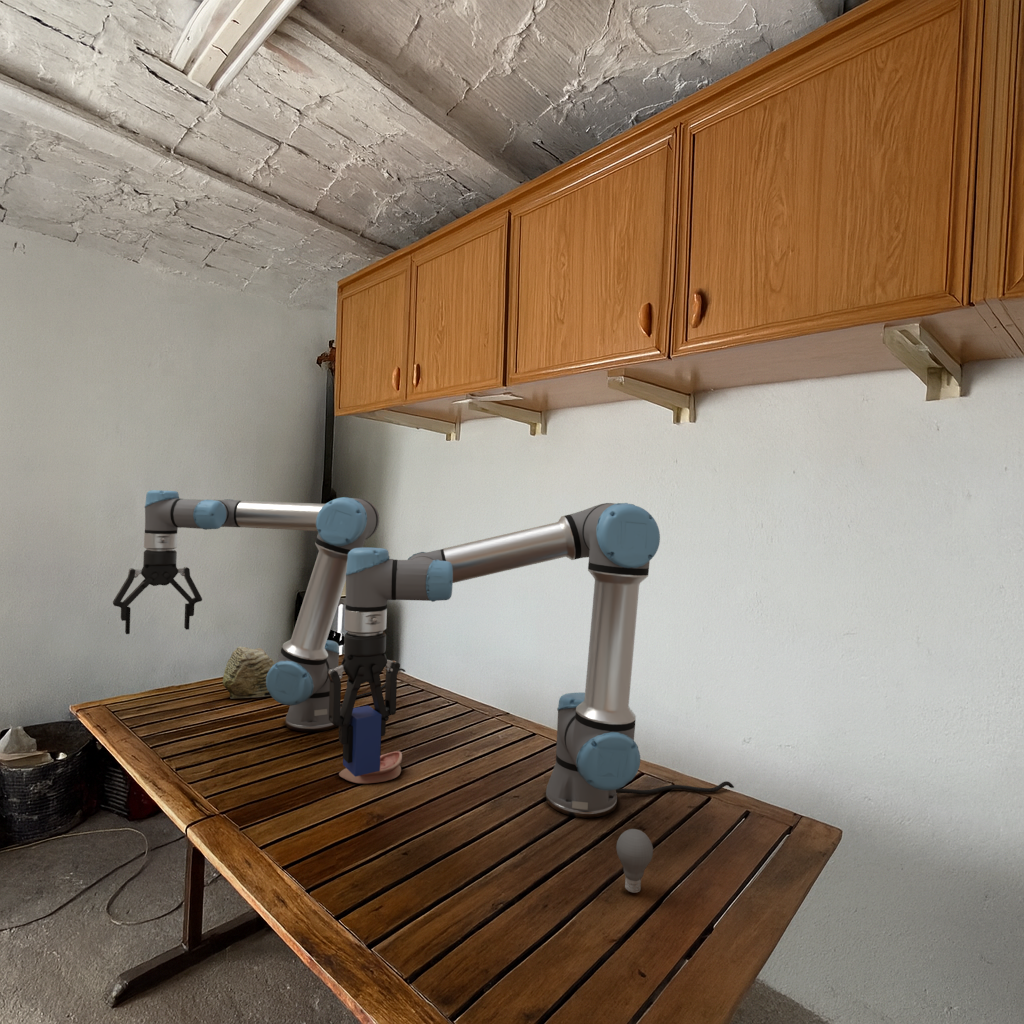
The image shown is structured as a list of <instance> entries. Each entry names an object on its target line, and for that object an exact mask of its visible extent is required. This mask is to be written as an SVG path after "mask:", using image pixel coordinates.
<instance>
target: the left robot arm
mask: <svg viewBox="0 0 1024 1024" xmlns="http://www.w3.org/2000/svg"><path fill="white" fill-rule="evenodd" d="M379 526H380V513H379V511H378V509H377V508H376V506H375V505H374V504H373V503H372V502H371V501H369V500H367V499H365V498H359V497H347V496H343V497H337V498H334V499H332V500H330V501H328V502H326V503H312V502H289V501H285V502H284V501H264V500H263V501H262V500H261V501H260V500H238V499H237V500H236V499H196V498H195V499H194V498H189V499H188V498H180V493H179V492H178V491H177V490H158V489H150V490H148V491H147V492H146V496H145V505H144V533H143V534H144V535H143V536H144V537H143V548H144V549H145V550H144V551H143V563H142V564H143V565H142V567H141V569H137V568H133V567H131V568H129V569H128V573H127V577H126V579H125V581H124V582H123V584H122V585H121V588H120V589H119V591H118V592H117V594H116V596H115V597H114V599H113V600H112V605H113V607H118V608H120V620H121V621H122V622H123V621H124V622H125V626H124V633H125V635H130V634H131V607H130V605H131V604H132V602H133V601H135V600H136V598H138V596H139V595H141V594H142V593H143V592H144V591H145V589H146V588H148V587H149V586H153V587H158V586H167V585H168V586H169V584H170V585H171V586H172V587H173V588H174V589H175V590H176V591H177V592H178V593H179V594H180V595H181V596H182V597H183V598H184V599H185V600H186V601H187V602H188V603H184V629H185V630H190V622H191V621H190V619H191V617H194V615H195V605H196V604H197V603H200V602H202V601H203V597H202V596H201V594H200V592H199V589H198V588H197V586H196V584H195V583H194V579H192V577H191V570H190V568H189V567H188V566H184V567H180V568H178V566H177V557H178V555H177V553H178V552H177V550H175V549H177V548H178V529H181V528H185V529H197V530H199V529H200V530H206V531H207V530H218V529H220V528H248V529H250V528H251V529H268V530H286V531H287V530H288V531H308V532H317V536H316V539H315V542H314V544H315V546H316V548H317V550H318V553H317V556H316V560H315V562H314V566H313V569H312V572H311V575H310V578H309V581H308V584H307V587H306V591H305V594H304V597H303V600H302V604H301V606H300V610H299V613H298V616H297V620H296V621H295V626H294V628H293V632H292V634H291V638H290V639H289V640H287V641H285V642H283V644H282V646H281V649H280V652H279V655H278V659H277V662H275V664H274V665H273V666H272V668H271V669H270V670H269V672H268V674H267V677H266V686H267V690H268V691H269V693H270V694H271V696H270V697H271V698H272V699H273V700H274V701H275V702H277V703H279V704H281V705H284V706H289V708H288V711H287V713H286V715H285V726H286V728H287V729H289V730H291V731H294V732H295V731H296V732H301V733H316V732H325V731H329V730H332V729H335V728H337V727H339V725H337V726H335V725H334V724H332V723H331V722H330V721H329V693H330V680H329V677H328V674H327V670H328V669H329V668H332V669H334V668H336V667H338V666H339V662H340V661H339V660H340V659H339V657H340V645H339V643H338V642H337V641H335V640H330V639H328V638H329V634H330V632H331V628H332V625H333V622H334V619H335V616H336V613H337V609H338V606H339V604H340V600H341V597H342V594H343V592H344V591H343V590H344V588H345V586H346V571H347V558H348V553H349V552H350V551H351V550H352V549H354V548H364V545H365V543H366V542H365V541H366V540H368V539H370V538H371V537H373V535H374V534H376V532H377V530H378V528H379ZM178 574H180V576H182V577H183V578H184V580H185V582H186V584H187V585H188V587H189V589H190V591H191V593H192V595H193V596H194V597H191V596H190V595H189V594H188V592H187V591H186V590H185V589H184V588H183V586H181V585H180V584H179V583H178V582H177V581H176V580H175V578H176V577H177V576H178ZM139 575H141V576H142V577H143V580H141V582H140V584H138V585H137V587H136V588H135V589H134V590H133V591H132V592H130V594H129V595H128V596H127V597H126V598H125V599H124V597H125V595H126V594H127V592H128V590H129V588H130V587H131V585H132V584H133V582H134V580H135V579H136V578H138V576H139ZM123 599H124V600H123ZM122 600H123V601H122ZM400 671H402V672H403V673H406V669H404V668H402V667H400V668H399V671H398V672H400ZM381 689H385V683H384V684H383V685H381ZM369 695H372V693H371V691H368V692H364V693H359V694H357V696H356V699H358V698H361V697H363V696H369ZM342 704H343V702H341V703H340V711H341V707H342Z"/></svg>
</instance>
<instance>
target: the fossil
mask: <svg viewBox="0 0 1024 1024" xmlns="http://www.w3.org/2000/svg"><path fill="white" fill-rule="evenodd" d="M274 664H276V662H274V660H273V659H272V658H271V657H270V656H269V655H268V654H267V653H266V652H265V650H264V649H263V648H260V647H258V648H251V647H247V646H246V647H245V646H238V647H237V648H236V649H235V650H233V651H232V653H231V656H230V657H229V659H228V660H227V663H226V666H225V668H224V671H223V675H222V676H223V677H222V685H223V687H224V688H225V690H226V691H228V693H229V698H230V699H250V698H264V697H272V696H271V694H270V693H269V691H268V690H267V686H266V677H267V674H268V672H269V670H270V669H271V668H272V666H273V665H274Z"/></svg>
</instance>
